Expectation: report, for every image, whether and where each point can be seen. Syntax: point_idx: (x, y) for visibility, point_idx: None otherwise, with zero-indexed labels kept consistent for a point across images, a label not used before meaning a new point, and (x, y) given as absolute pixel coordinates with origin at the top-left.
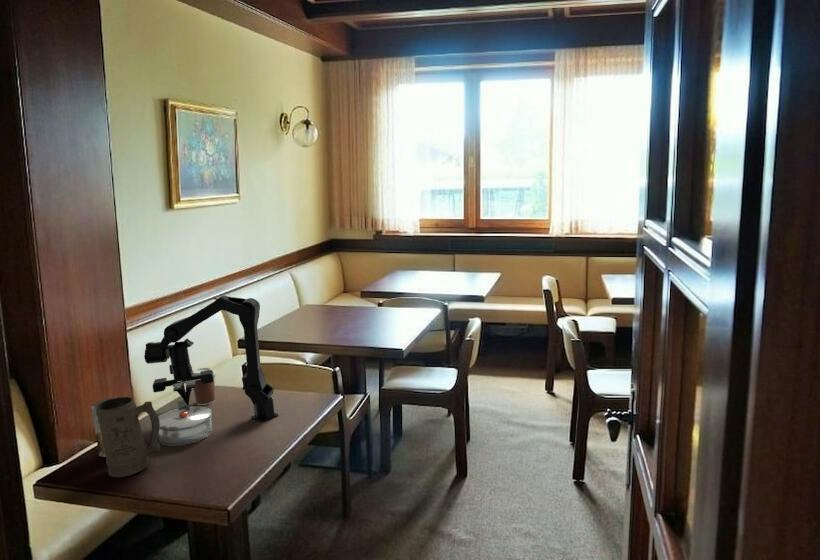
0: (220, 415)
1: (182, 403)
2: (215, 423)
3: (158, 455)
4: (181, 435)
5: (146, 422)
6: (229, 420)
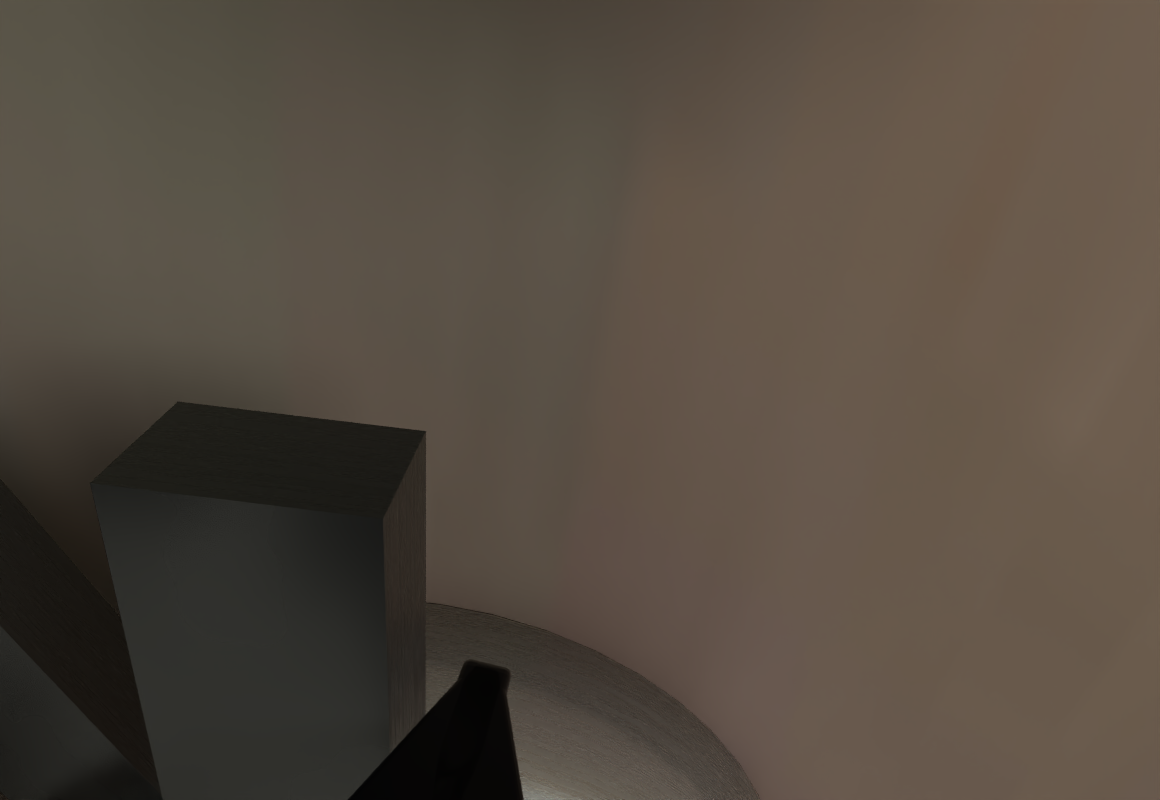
0: (1141, 499)
1: (296, 772)
2: (892, 755)
3: None
4: None
5: None
6: (1123, 776)
